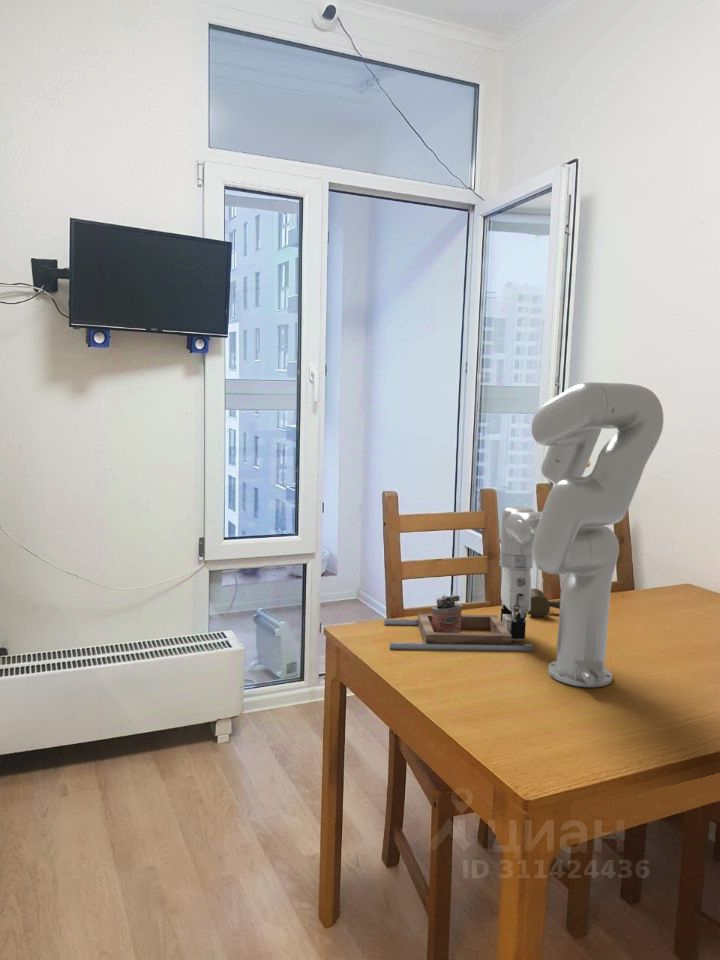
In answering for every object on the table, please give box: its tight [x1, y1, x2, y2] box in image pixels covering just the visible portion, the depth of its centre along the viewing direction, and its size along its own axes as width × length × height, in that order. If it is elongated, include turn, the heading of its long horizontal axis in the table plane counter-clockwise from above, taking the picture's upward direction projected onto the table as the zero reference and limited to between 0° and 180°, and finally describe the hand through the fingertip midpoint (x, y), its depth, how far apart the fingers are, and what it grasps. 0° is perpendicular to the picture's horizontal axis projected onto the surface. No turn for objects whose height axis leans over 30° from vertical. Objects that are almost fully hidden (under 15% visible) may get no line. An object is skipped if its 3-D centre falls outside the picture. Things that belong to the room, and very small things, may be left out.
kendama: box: [527, 588, 560, 619], centre depth 190 cm, size 6×10×20 cm
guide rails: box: [383, 618, 534, 652], centre depth 168 cm, size 18×32×2 cm, turn 92°
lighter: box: [431, 594, 463, 633], centre depth 168 cm, size 8×3×10 cm, turn 119°
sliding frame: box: [417, 613, 524, 644], centre depth 168 cm, size 15×23×5 cm, turn 92°
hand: (512, 631), depth 169 cm, fingers open, 9 cm apart
